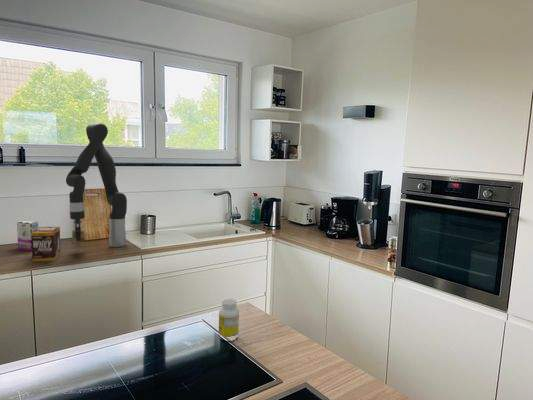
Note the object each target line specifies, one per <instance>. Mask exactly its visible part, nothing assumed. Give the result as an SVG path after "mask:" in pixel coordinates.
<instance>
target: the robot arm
mask: <svg viewBox="0 0 533 400" xmlns="http://www.w3.org/2000/svg"><path fill="white" fill-rule="evenodd" d="M108 132H109V129H108V127H107V126H106V125H105V124H104V123H100V122H99V123H98V122H97V123H96V122H95V123H90V124H88V125H87V126H86V129H85V133H86V136H87V137H86V138H87V139H88V141H89V142H88V144H87V146H86V147H85V148H84V149H83V150H82V152H80V154H79V155H78V158H77V159H76V162H75V165H74V166H73V167H72V168H71V169H70V171H69V172H68V174H67V175H66V178H65V183H66V185H67V186H68V187H71V188H73V190H72V191H71V192H69V194H68V195H69V205H68V206H69V218H70V219H71V220H74V221H73V226H74V230H75V231H76V232H75V233H76V240H77V241H80V240H81V235H80V234H81V229H82V225H83V224H82V223H83V222H82V220H83V219H85V217H86V214H85V213H86V211H85V203H84V201H85V200H84V193H85V188H86V179H85V177H84V176H83V174H85V173H87V172H88V170H89V169H90V165H91V164H92V161H93V159H94V157H95V161H96V164H97V168H98V171H99V175H100V178H101V180H102V185H103V187H104V191H105V192H104V193H105V197H106V201H107V203H108V205H110V206H111V212H110V213H108V214H109V215H108V216H109V217H108V220H109V222H108V223H109V224H108V225H109V228H108V229H109V232H108V233H109V240H108V241H109V247H112V248H122V247H126V245H127V244H126V243H127V241H126V240H127V239H126V238H127V237H126V236H127V234H126V233H127V232H126V214H127V211H128V199H127V196H126V195H125V194H124V193H122V192H119V189H118V186H117V182H116V179H117V169H116V166H115V162H114V159H113V157H112V156H111V154H110V152H108V150H107V149H106V148H105V146H104V143H103V142H105V139H106V138H107V137H108V134H109V133H108ZM77 230H79V231H80V232H77Z"/></svg>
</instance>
